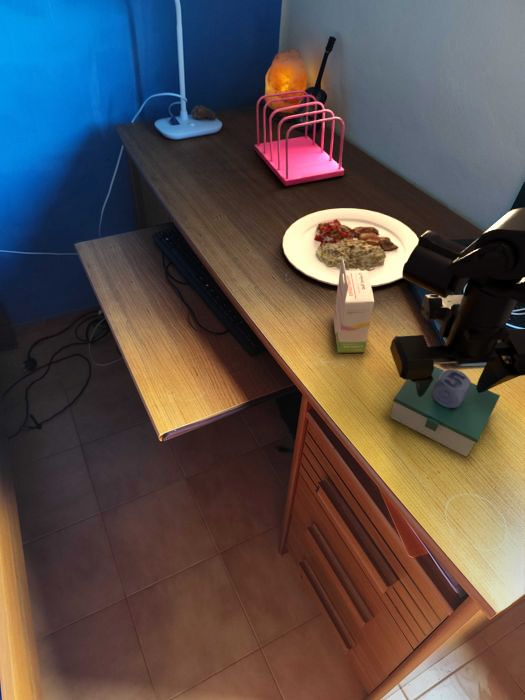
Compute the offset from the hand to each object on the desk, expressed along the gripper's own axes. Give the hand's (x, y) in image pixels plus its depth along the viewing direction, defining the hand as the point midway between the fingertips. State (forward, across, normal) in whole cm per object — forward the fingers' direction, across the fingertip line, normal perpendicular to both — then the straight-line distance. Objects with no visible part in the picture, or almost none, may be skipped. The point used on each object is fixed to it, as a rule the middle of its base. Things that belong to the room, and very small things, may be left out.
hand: (448, 392), depth 68 cm
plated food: (+6, +5, -45) cm, 46 cm away
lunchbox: (+6, 0, 0) cm, 6 cm away
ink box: (+6, +10, -19) cm, 22 cm away
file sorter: (+6, +12, -90) cm, 91 cm away
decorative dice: (+1, 0, 0) cm, 1 cm away
